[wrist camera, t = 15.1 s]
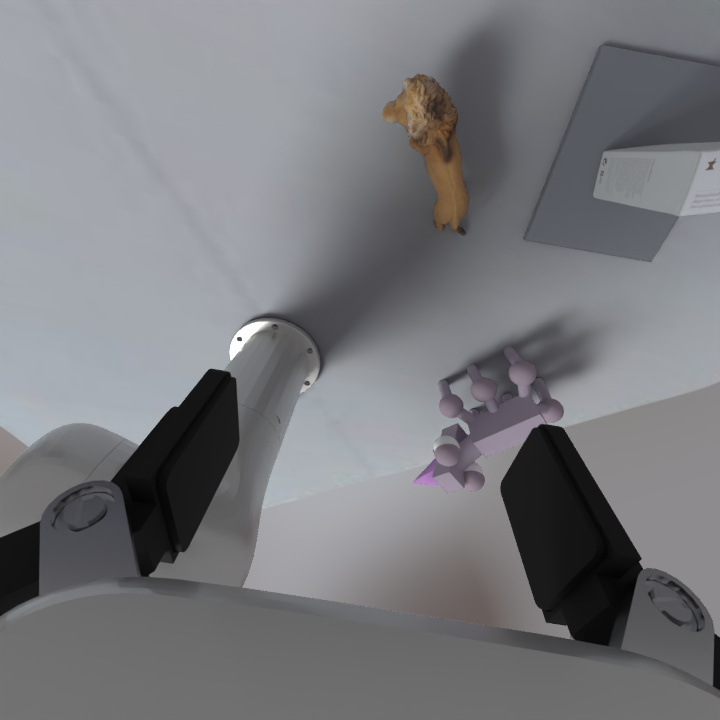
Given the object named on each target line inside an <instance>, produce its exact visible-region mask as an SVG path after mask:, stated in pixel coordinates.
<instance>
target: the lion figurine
mask: <svg viewBox="0 0 720 720" xmlns="http://www.w3.org/2000/svg"><path fill="white" fill-rule="evenodd" d="M403 83H404V86H403V92H402V93H401V94H400V95H399V96H398V97H397V99H396V100H395V101H391V102H389V103H387V105H386V106H385V108H384V109H383V114H382V116H383V119H384V120H385V121H387V122H388V123H396V122H399V123H400V124H401V125H404V126H405V128H406V130H407V132H408V135H409V137H411V139H410V146H411V147H412V148H414V149H416V150H417V151H418V152H420V153H421V154H423V155H424V158H425V164H426V168H427V172H428V174H429V177H430V179H431V181H432V184H433V186H434V188H435V189H436V191H437V194H438V199H437V201H436V203H435V205H434V211H433V214H434V218H435V221H434V225H435V226H436V228H437V229H438V230H439V231H443V230H444V229H445V224H448V223H449V224H450V226H451V231H453V232H454V231H458V233H460V234H461V235H465V234H466V232H465V230H464V229H463V227H460V226H458V224H459V220H461V219H462V218H463V217H464V216H465V214H466V213H467V210H468V206H469V197H468V194H467V192H466V190H465V182H464V181H463V175H462V163H461V153H460V149H459V145H458V141H457V139H456V136H455V135H456V124H457V119H458V115H457V112H456V107H454V106H453V104H452V103H451V98H450V96H448V94H447V92H445V90H444V89H443V88H441V87H440V86H439V83H438V82H436V81H435V79H434V78H433V77H432V76H431V77H427V76H425V75H420V74H417V75H416V76H415V77H413V78H411V79H410V78H407V79H406V80H405V81H404V82H403Z"/></svg>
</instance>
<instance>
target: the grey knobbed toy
mask: <svg viewBox="0 0 720 720" xmlns="http://www.w3.org/2000/svg"><path fill="white" fill-rule="evenodd" d="M504 355H505V356H506V358H507V359H508V360H509V362H510V363H511V364H512V365H511V367H510V369H509V377H510V379H511V381H512V382H514V383H515V384H517V385H518V392H519V395H518V396H516V397H514V398H513V397H512V395H511V394H504V395H503V396H502V399H503V402H504V403H501V404H499V405H498V404H497V402H496V400H495V399H494V397H495V396H496V393H497V388H496V385H495V383H494V382H493V381H492V380H490V379H488V378H482V376H481V374H480V372H479V370H478V368H477V366H476V365H473V364H472V365H469V366H468V368H467V371H468V373H469V375H470V378H471V380H472V382H473V384H472V386H471V393H472V395H473V397H474V398H475V399H476V400H478V401H480V402H484V404H485V406H486V407H487V409H488V410H486V411H484V412H482V413H480V414H479V412H478V410H476V409H472V410H470V411H469V412H468V411H467V410H465V409H464V408H463V402H462V400H461V399H460V398H459V397H458V396H457V395H454V394H452V393H451V390H450V387H449V385H448V382H447V381H446V380H441V381H440V382H439V383H438V385H439V389H440V392H441V395H442V399H441V400H440V403H439V408H440V411H441V413H442V414H443V415H444V416H446V417H449V418H455V417H458V418H460V419H461V420H463V421H464V422H466V423H467V424H468V426H469V430H470V434H469V435H467V434H466V433H465V431H464V430H463V429H462V428H461V427H460V425H459V424H458V423H457V424H455V425H452V426H450V427H448V428H445V429H443V430H442V434H441V437H440V438H438V439H437V440H436V442H435V444H434V449H433V452H434V455H435V459H434V460H433V461H432V462H431V463H430V465H429V466H428V467H427V468H426V469H425V470H424V471H423V472H422V473H421V474H420V475H419V476H418V478H417V479H416V480H415V481H414V482H413V483H414V484H425V485H437V486H441V487H442V488H443V490H445V492H446V493H448V494H449V493H452V492H455V491H458V490H461V489H464V488H465V489H466V490H468V491H478V490H480V489H481V488H482V487H483V485H484V482H485V478H484V475H483V471H482V469H481V467H480V466H479V465H478V464H477V463H475V462H474V461H475V460H476V459H477V458H479V457H480V456H481V455H483V456H484V457H485V458H487V457H489V456H492V455H494V454H497V453H499V452H502V451H504V450H506V449H509V448H511V447H513V446H516V445H519V444H521V443H523V442H525V440H526V439H527V437H528V435H529V433H530V432H531V430H532V429H533V428H534V427H538V426H539V425H540V424H547V423H546V422H549V423H553V422H557V421H559V420H560V419H561V418H562V416H563V414H564V410H563V406H562V405H561V404H560V402H558V401H557V400H555V399H552V398H551V396H550V394H549V392H548V390H547V388H546V386H545V384H544V382H543V380H542V379H541V378H536V376H537V371H536V368H535V366H534V365H533V364H532V363H530V362H528V361H525V360H522V358H521V357H520V356H519V355H518V354H517V352H516V351H515V350H514V349H513V348H512V347H506V348H505V349H504ZM531 383H533V386H534V388H535V390H536V392H537V395H538V397H539V399H540V402H539V404H536V403H535V402H534V400H533V399H532V394H531V387H530V384H531ZM547 425H548V424H547Z"/></svg>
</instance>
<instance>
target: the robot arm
mask: <svg viewBox="0 0 720 720" xmlns="http://www.w3.org/2000/svg"><path fill="white" fill-rule="evenodd" d="M276 324H277V325H276ZM310 348H311V349H310ZM230 359H231V362H230V363H229V364H228V366H227V367H226V368H225V370H224V371H222V370H216V369H209V370H208V371H207V372H206V373H205V375H204V376H203V377H202V378H201V380H200V381H199V382H198V383H197V385H196V386H195V387H194V388H193V390H192V391H191V392H190V393H189V395H188V396H187V397H186V398H185V400H184V401H183V402H182V403H181V405H180V406H179V407H173V408H171V409H170V410H169V411H168V412H167V413H166V414H165V415H164V417H163V418H162V419H161V420H160V422H159V423H158V424H157V425H156V426H155V428H154V429H153V430H152V431H151V432H150V434H149V435H148V436H147V437H146V438H145V440H144V441H143V442H142V443H141V445H140V446H139V445H138V444H136V443H134V442H132V441H130V440H128V439H126V438H124V437H122V436H120V435H118V434H116V433H114V432H111V431H109V430H107V429H104V428H102V427H99V426H96V425H92V424H85V423H73V424H69V425H65V426H62V427H59V428H57V429H54V430H52V431H51V432H49V433H47V434H46V435H44V436H43V437H41V438H40V439H38V440H37V441H36V442H34V443H33V444H32V445H31V446H30V447H29V448H28V449H27V450H25V451H24V452H23V453H22V454H21V455H20V456H19V457H18V458H17V459H16V460H15V461H14V462H13V463H12V464H11V465H10V466H9V467H8V468H7V469H6V470H5V471H4V472H3V474H2V475H1V476H0V720H720V637H718V636H717V635H716V634H715V633H714V626H713V620H712V618H711V616H710V614H709V612H708V611H707V609H706V607H705V606H704V605H703V603H702V602H701V601H700V599H699V598H698V597H697V596H696V595H695V594H694V593H693V592H692V591H691V590H690V589H689V588H688V587H687V586H686V585H684V584H683V583H682V582H681V581H679V580H678V579H677V578H675V577H673V576H671V575H670V574H668V573H666V572H663V571H661V570H658V569H652V568H647V569H644V570H643V568H642V566H641V565H640V563H639V561H640V560H641V559H642V558H641V557H640V555H639V553H638V552H637V550H636V548H635V547H634V545H633V543H632V542H631V540H630V538H629V537H628V535H627V533H626V532H625V530H624V528H623V527H622V525H621V524H620V522H619V520H618V518H617V517H616V515H615V514H614V512H613V510H612V509H611V507H610V505H609V503H608V502H607V500H606V498H605V497H604V495H603V493H602V492H601V490H600V489H599V487H598V485H597V484H596V482H595V480H594V478H593V477H592V475H591V473H590V472H589V470H588V469H587V467H586V466H585V463H584V462H583V460H582V458H581V457H580V455H579V454H578V452H577V450H576V448H575V447H574V445H573V443H572V442H571V440H570V438H569V437H568V435H567V434H566V432H565V430H564V429H563V428H562V427H559V426H553V425H547V424H540V425H539V426H538V427H534V428H533V429H532V430H531V432H530V433H529V435H528V437H527V439H526V440H525V442H524V444H523V446H522V447H521V449H520V451H519V452H518V454H517V456H516V458H515V459H514V461H513V463H512V465H511V466H510V468H509V470H508V472H507V473H506V475H505V477H504V478H503V480H502V482H501V495H502V498H503V501H504V504H505V507H506V510H507V514H508V517H509V520H510V523H511V527H512V530H513V533H514V536H515V539H516V543H517V546H518V549H519V552H520V555H521V559H522V562H523V565H524V568H525V571H526V575H527V578H528V580H529V584H530V587H531V591H532V594H533V597H534V600H535V603H536V604H537V606H538V607H539V608H540V609H542V611H543V614H544V617H545V621H546V622H547V623H552V624H560V625H567V626H568V629H569V631H570V634H571V636H570V639H565V638H559V637H553V636H548V635H542V634H536V633H530V632H524V631H518V630H512V629H505V628H499V627H493V626H487V625H481V624H474V623H468V622H462V621H456V620H449V619H443V618H437V617H430V616H424V615H418V614H411V613H405V612H399V611H392V610H386V609H379V608H373V607H366V606H360V605H353V604H347V603H340V602H334V601H327V600H321V599H314V598H307V597H301V596H295V595H288V594H281V593H275V592H268V591H261V590H255V589H248V588H242V587H243V585H244V582H245V580H246V578H247V576H248V573H249V569H250V566H251V563H252V560H253V557H254V552H255V547H256V541H257V535H258V528H259V521H260V515H261V509H262V504H263V499H264V495H265V491H266V488H267V484H268V481H269V478H270V475H271V472H272V469H273V466H274V463H275V460H276V457H277V455H278V452H279V449H280V447H281V444H282V441H283V438H284V436H285V433H286V430H287V427H288V425H289V422H290V419H291V416H292V414H293V411H294V408H295V405H296V402H297V400H298V397H299V394H301V393H303V392H305V391H306V390H308V389H309V388H310V387H311V386H312V385H313V384H314V382H315V381H316V379H317V377H318V374H319V371H320V364H321V361H320V354H319V351H318V348H317V346H316V345H315V343H314V341H313V340H312V339H311V337H310V336H309V335H308V334H307V333H306V332H305V331H303V330H302V329H301V328H299V327H298V326H296V325H294V324H293V323H290V322H288V321H285V320H281V319H277V318H261V319H256V320H253V321H250V322H248V323H247V324H245V325H244V326H242V327H241V328H240V329H239V330H238V332H237V333H236V334H235V335H234V337H233V339H232V342H231V345H230Z"/></svg>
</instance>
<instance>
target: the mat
mask: <svg viewBox="0 0 720 720" xmlns="http://www.w3.org/2000/svg"><path fill="white" fill-rule="evenodd" d="M705 142H720V67H719V66H714V65H709V64H703V63H698V62H692V61H687V60H681V59H676V58H671V57H665V56H660V55H654V54H649V53H644V52H638V51H633V50H627V49H622V48H617V47H611V46H606V45H602V46H600V47H599V50H598V52H597V55H596V57H595V60H594V62H593V65H592V67H591V70H590V72H589V75H588V77H587V80H586V82H585V85H584V87H583V90H582V92H581V95H580V98H579V100H578V103H577V105H576V108H575V110H574V113H573V115H572V118H571V120H570V123H569V125H568V128H567V130H566V133H565V135H564V138H563V140H562V143H561V145H560V148H559V150H558V153H557V156H556V158H555V161H554V163H553V166H552V168H551V171H550V173H549V176H548V178H547V181H546V183H545V186H544V188H543V191H542V193H541V196H540V198H539V201H538V203H537V206H536V208H535V211H534V214H533V216H532V219H531V221H530V224H529V226H528V229H527V231H526V234H525V236H524V240H527V241H533V242H539V243H544V244H550V245H556V246H562V247H567V248H573V249H579V250H585V251H590V252H596V253H602V254H607V255H613V256H619V257H625V258H630V259H636V260H642V261H647V262H651V261H652V259H653V258H654V256H655V254H656V253H657V251H658V250H659V248H660V246H661V245H662V243H663V241H664V240H665V238H666V237H667V235H668V233H669V232H670V230H671V228H672V227H673V225H674V224H675V222H676V220H677V219H678V217H679V216H676V215H672V214H668V213H664V212H658V211H653V210H648V209H644V208H639V207H634V206H629V205H625V204H621V203H616V202H611V201H606V200H601V199H597V198H594V197H593V192H594V188H595V183H596V179H597V175H598V171H599V166H600V163H601V159H602V155H603V152H604V151H607V150H615V149H624V148H633V147H642V146H652V145H663V144H679V143H705Z"/></svg>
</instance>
